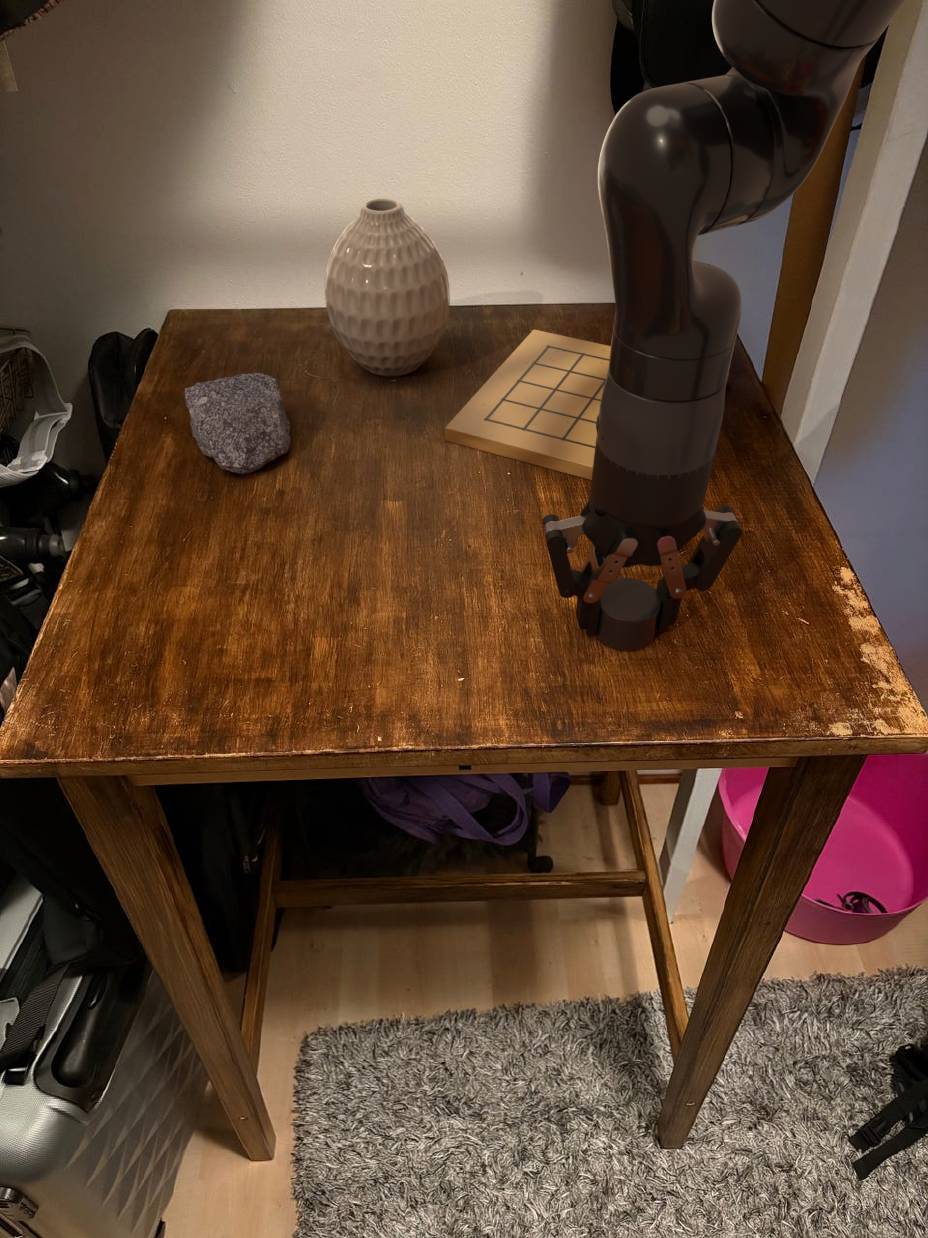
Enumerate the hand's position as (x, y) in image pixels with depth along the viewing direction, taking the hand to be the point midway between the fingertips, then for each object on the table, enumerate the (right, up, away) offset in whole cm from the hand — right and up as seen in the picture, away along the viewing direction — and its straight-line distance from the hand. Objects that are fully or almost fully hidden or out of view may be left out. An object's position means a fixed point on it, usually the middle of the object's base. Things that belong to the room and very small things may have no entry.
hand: (624, 625), depth 69 cm
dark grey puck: (0, 0, 0) cm, 0 cm away
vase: (-20, +28, +30) cm, 46 cm away
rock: (-33, +18, +19) cm, 42 cm away
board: (+1, +21, +22) cm, 31 cm away
